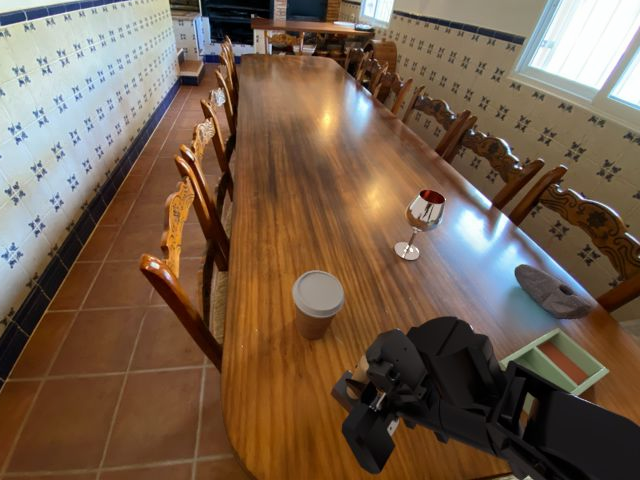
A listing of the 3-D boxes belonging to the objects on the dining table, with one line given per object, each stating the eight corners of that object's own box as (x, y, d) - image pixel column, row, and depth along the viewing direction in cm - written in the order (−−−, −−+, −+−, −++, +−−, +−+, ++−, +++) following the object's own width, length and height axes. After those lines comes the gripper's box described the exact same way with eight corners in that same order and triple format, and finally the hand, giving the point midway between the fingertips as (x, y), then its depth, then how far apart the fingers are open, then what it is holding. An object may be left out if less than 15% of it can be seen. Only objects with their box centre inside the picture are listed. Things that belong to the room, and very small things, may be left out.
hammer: (371, 402, 49) (394, 367, 40) (357, 422, 46) (379, 389, 38) (344, 376, 51) (360, 339, 43) (330, 394, 49) (344, 358, 41)
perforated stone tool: (502, 276, 74) (518, 257, 69) (518, 272, 75) (534, 253, 71) (560, 330, 63) (583, 312, 58) (577, 324, 64) (601, 306, 60)
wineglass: (428, 260, 76) (459, 205, 65) (401, 265, 74) (427, 209, 63) (411, 238, 82) (436, 184, 71) (385, 242, 80) (406, 188, 69)
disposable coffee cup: (286, 305, 63) (290, 269, 56) (329, 303, 64) (339, 267, 57) (290, 349, 56) (295, 314, 48) (339, 346, 57) (352, 311, 50)
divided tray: (593, 380, 55) (610, 371, 53) (536, 423, 49) (552, 415, 47) (544, 337, 62) (557, 327, 59) (488, 371, 55) (500, 361, 53)
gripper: (455, 296, 37) (362, 294, 50) (377, 417, 27) (284, 376, 39) (490, 370, 38) (390, 350, 51) (429, 515, 28) (322, 444, 40)
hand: (351, 375), depth 45 cm, fingers closed on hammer, 2 cm apart
